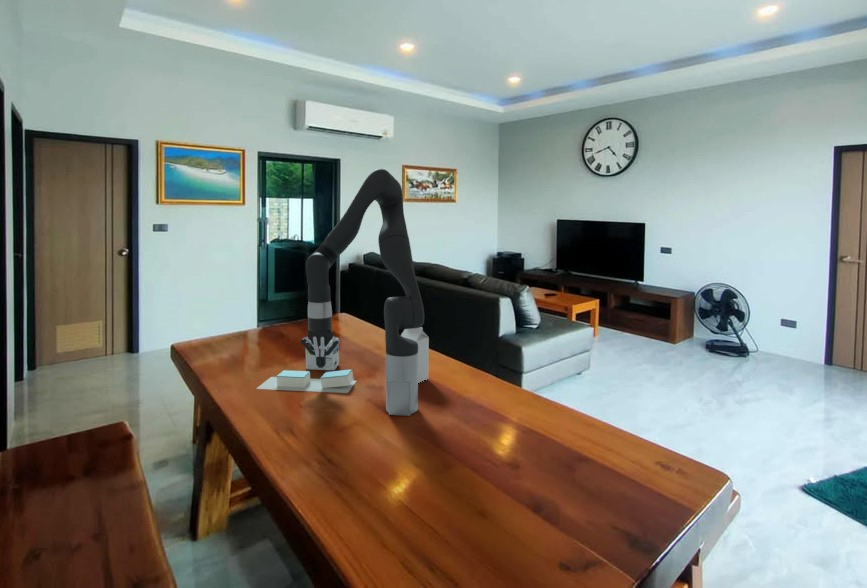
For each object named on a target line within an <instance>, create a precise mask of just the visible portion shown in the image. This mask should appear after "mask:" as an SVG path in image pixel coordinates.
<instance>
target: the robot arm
mask: <svg viewBox="0 0 867 588" xmlns="http://www.w3.org/2000/svg"><path fill="white" fill-rule="evenodd" d="M403 195H404V194H403V189H402V186H401V184H400V182H399V181H398V180H397V179H396V178H395V177H394V175H392V173H390V172H389V171H388V170H386V169H383V168H377V169H374V170H373V171H371V172H370V174H368V175H367V177H366V178H365V180H364V181H363V183H362V185H361V187H360V188H359V190H358V191H357V193H356V195H355V196H354V198H353V199H352V201H351V203H350V204H349V206H348V208H347V209H346V211H345V213H344V215H343V216H342V217H341V218H340V220H339V221H338V223H337V224H336V225H335V226H334V227H333V228H332V230H331V231H330V232H329V233H328V234H327V235H326V237H325V239H324V240H323V242H322V243H321V244H320V246H319V247H318V248H317V249H316V250H315V251H314V252H313V253H311V255H309V256H308V258H307V259H306V262H305V274H306V282H307V286H308V287H307V301H308V302H307V303H308V304H307V329H308V331H307V334H306V336H305V337H303V338H302V339H301V340H300V343H301V344H302V346H303V347H304V349H305V348H306V349H307V350H308V352H309V353H310V354H311V355H315V356H316V365H317V366H318V368H323V367H324V366H325V365H326V356H327V355H329V354H330V353H331V352H332V351H333V350H334V349H335V347H336V346H337V345H338V346H339V344H340V342H341V340H340V338H338V337H336V336H335V335H334V332H333V309H332V308H333V307H332V300H331V285H330V284H329V282H330V281H329V271H330V269H331V267H332V266H333V265H334V263H335V262H336V261H337V260H338V258H339V256H340V255H342V254H343V253H344V252H345V251H346V249H347V248H348V247H349V246H350V244H351V243H352V242H354V240H355V238H356V237H357V235H358V234H359V231H360V230H361V229H360V228H361V226H362V222H363V219H364V216H365V214H366V212H367V210H368V208H369V207H370V205H371V204H372V203H373V202H377V203H378V205H379V208H380V213H381V217H382V225H381V228H380V230H379V234H378V241H377V242H378V247H379V248H378V250H379V254H380V260H381V261H382V263H383V265H384V267H385V268H386V269H387V270H388V271H389V272H390V273H391V274H392V276H393V277H394V278H395V279H396V280H397V281H398V282H399V284H400V286H401V287H402V289H403V292H404V294H405V296H392V297H391V296H390V297H387V298H386V300H385V302H384V306H383V320H384V334H385V337H384V338H385V341H384V342H385V411H386V412H387V413H388V415H389V416H406V417H408V416H409V417H410V416H411V415H413V414H415V413H416V412H418V410H419V384H418V344H417V342H416V341H414V340H411V339H408V338H404V337H402V336H401V334H400V333H399V330H405V329H413V328H420V327H422V326H423V325H424V324H425V310H424V303H423V299H422V296H421V292H420V287H419V284H418V281H417V280H418V279H417V277H416V274H415V273H416V272H415V269H414V268H415V267H414V261H413V254H412V247H411V243H410V237H409V233H408V229H407V223H406V222H407V221H406V217H405V214H404V199H403V197H404V196H403ZM337 338H338V339H337ZM331 340H332V342H331V343H332V346H331V347H330V348H329V350H328V351H327V345H328V344H329V342H330V341H331ZM310 341H311V342H312V344H313V345H314V347H313V346H312V345H311V344H310Z"/></svg>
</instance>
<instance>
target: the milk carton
mask: <svg viewBox="0 0 867 588" xmlns="http://www.w3.org/2000/svg"><path fill="white" fill-rule="evenodd" d="M423 329H424V328H423V327H422V326H421V327H420V328H413V329H403V331H402V332H401V334H400V336H402V337H404V338H408V339H411V340H414V341H416V342H417V344H418V383H419V384H420V382H421V383H423V382H425V381H424V380H426V381H428V380H429V364H430V363H429V354H430V352H429V351H430V350H429V349H430V348H429V347H430V346H429V345H430V344H429V343H430V339H429V338H430V337H429V336H428V335H427V334H426V332H425V331H424V330H423ZM427 379H428V380H427ZM422 381H423V382H422Z"/></svg>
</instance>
